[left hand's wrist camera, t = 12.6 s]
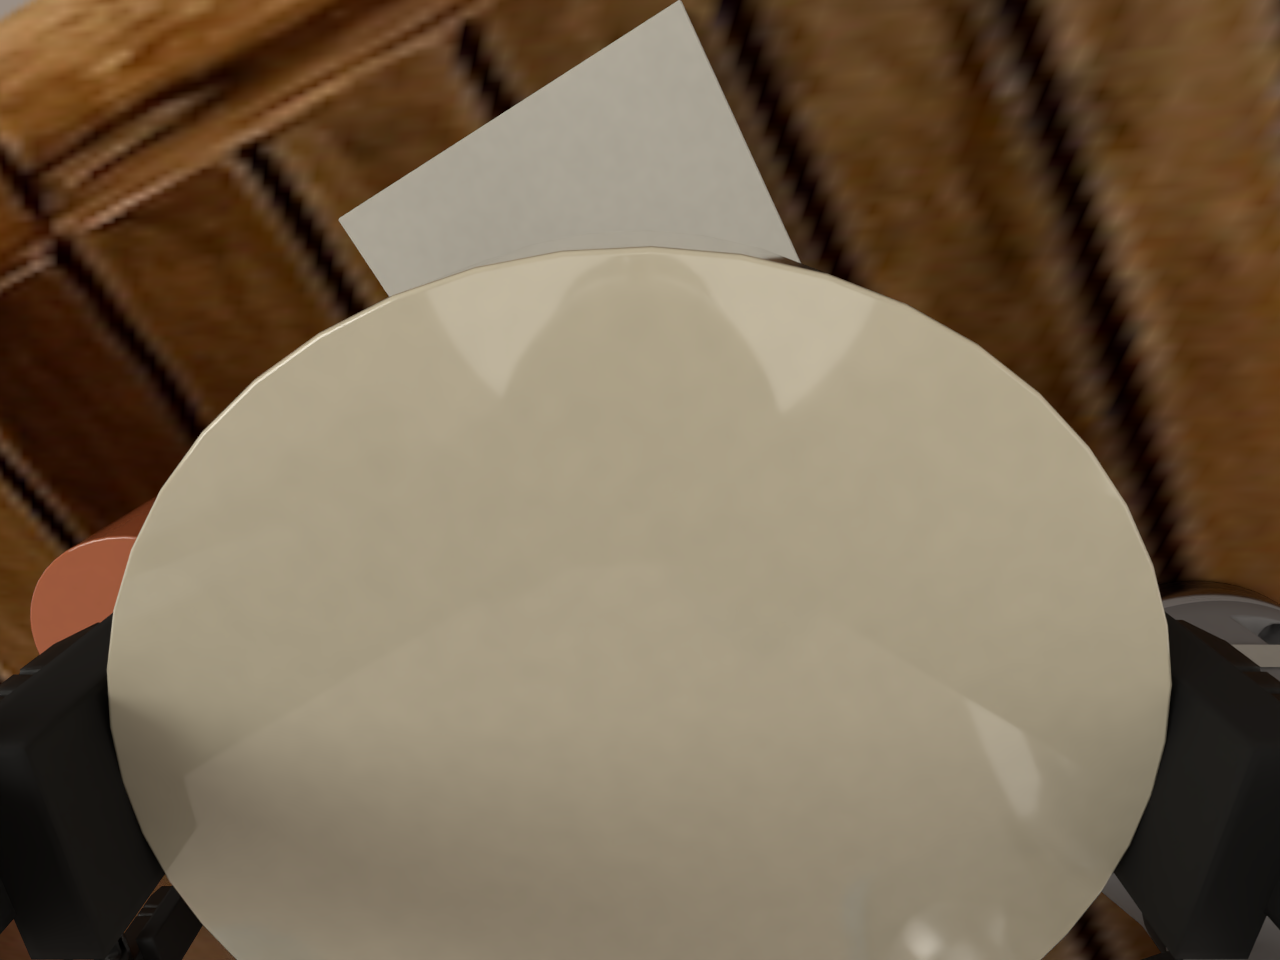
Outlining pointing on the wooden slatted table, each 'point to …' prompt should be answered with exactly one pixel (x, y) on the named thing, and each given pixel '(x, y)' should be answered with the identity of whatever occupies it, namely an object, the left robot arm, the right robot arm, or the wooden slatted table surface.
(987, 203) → the wooden slatted table surface
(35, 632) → the orange handled cylinder
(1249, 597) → the left robot arm
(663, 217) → the grey mat
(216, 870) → the cap
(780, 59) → the wooden slatted table surface
